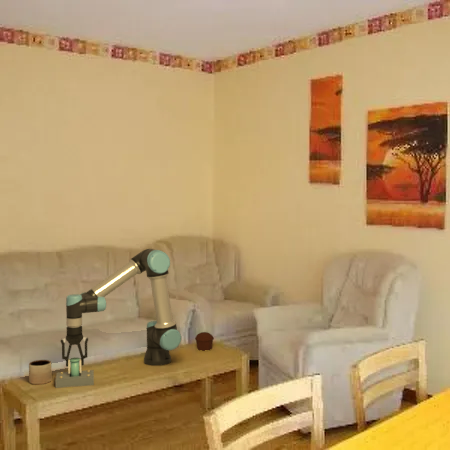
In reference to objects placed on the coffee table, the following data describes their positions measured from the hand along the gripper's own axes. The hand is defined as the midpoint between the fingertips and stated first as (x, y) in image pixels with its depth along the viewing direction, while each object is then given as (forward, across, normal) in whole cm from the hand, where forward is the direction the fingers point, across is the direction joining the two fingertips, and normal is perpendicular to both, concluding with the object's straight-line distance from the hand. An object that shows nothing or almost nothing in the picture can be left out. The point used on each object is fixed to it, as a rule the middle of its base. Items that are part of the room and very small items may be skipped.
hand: (75, 372), depth 286 cm
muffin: (+6, -75, -48) cm, 89 cm away
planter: (+6, +17, -6) cm, 19 cm away
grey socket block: (+5, 0, 0) cm, 5 cm away
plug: (+5, 0, 0) cm, 5 cm away
